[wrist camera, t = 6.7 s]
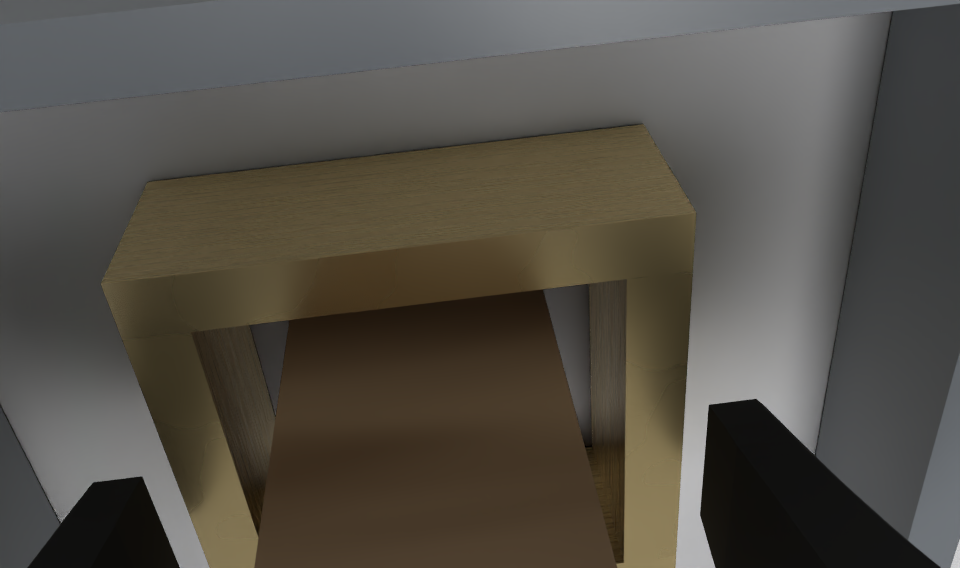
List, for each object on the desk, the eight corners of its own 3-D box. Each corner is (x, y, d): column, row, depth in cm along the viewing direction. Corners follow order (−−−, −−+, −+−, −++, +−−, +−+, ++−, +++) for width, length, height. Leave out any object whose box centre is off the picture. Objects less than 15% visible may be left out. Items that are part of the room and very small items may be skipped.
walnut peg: (545, 433, 16) (643, 879, 10) (335, 459, 15) (309, 928, 10) (534, 257, 14) (649, 689, 8) (294, 286, 13) (228, 745, 8)
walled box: (823, 618, 19) (889, 758, 17) (114, 713, 19) (74, 870, 16) (986, -154, 11) (1166, -104, 8) (-289, -16, 10) (-500, 79, 8)
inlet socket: (636, 473, 16) (673, 589, 14) (258, 521, 16) (240, 646, 14) (643, 124, 12) (696, 212, 10) (148, 181, 12) (101, 284, 10)
